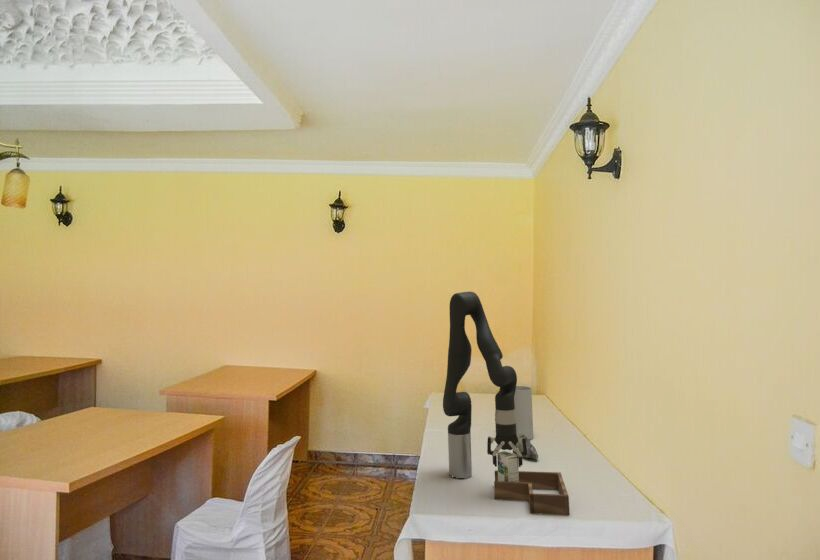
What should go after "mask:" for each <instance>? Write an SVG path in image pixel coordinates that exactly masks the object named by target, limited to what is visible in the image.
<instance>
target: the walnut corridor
mask: <svg viewBox="0 0 820 560" xmlns="http://www.w3.org/2000/svg"><path fill="white" fill-rule="evenodd" d="M493 484H494V485H493V486H494V487H493V488H494V500H495V499H502V500H501V501H517V502H518V501H521V502H523V501H525V502H528V505H529V512H530V514H538V513H542V515H543V514H544V515H562V516H563V515H564V516H570V498H569V497H570V496H569V494H568V490H567V487H566V485H565V481H564V477H563V475H562V472H559V471H558V472H557V471H527V470H526V471H525V470H522V471H521V470H519V482H504V481H498V469H497V470H494V481H493ZM534 490H547V491H548V490H549V491H552V490H553V491H558V494H556V493H555V494H552V493H534Z"/></svg>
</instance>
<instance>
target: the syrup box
mask: <svg viewBox="0 0 820 560" xmlns="http://www.w3.org/2000/svg"><path fill="white" fill-rule="evenodd" d="M496 455H497V470H498V481H504V482H519V471H520V470H519V469H520V467H519V461H518V455H517V454H515V453H513V451H512V450H502V451H499V452H498V453H497V454H496Z"/></svg>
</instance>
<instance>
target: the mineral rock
mask: <svg viewBox="0 0 820 560" xmlns="http://www.w3.org/2000/svg"><path fill="white" fill-rule="evenodd" d="M517 437H518V438H522V437H525V439H526V448H527V455H524V456H522V458H525V459H539V454H538V451H537V449H536V448H535V446H534V445H533V444H532V443H531V440H529V438H528V437H527V436H525V434H518V436H517ZM516 446H517V447H518V448H519V450H520V451H523V444H521V443H520V441H518V443H517V444H516ZM512 453H515V454H517V453H516V452H515V451H514V450H513V449H512ZM517 455H518V454H517Z"/></svg>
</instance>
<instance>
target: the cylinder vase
mask: <svg viewBox="0 0 820 560" xmlns="http://www.w3.org/2000/svg"><path fill="white" fill-rule="evenodd" d="M514 403H515V414H516V430H517V436H518V434H525V436H527V437H528V438H529V440H530V441H531V440H533V439H534V423H533V421H534V420H533V419H534V418H533V416H534V415H533V393H532V387H531V386H526V385H525V386H524V385H516V391H515V395H514Z"/></svg>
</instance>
